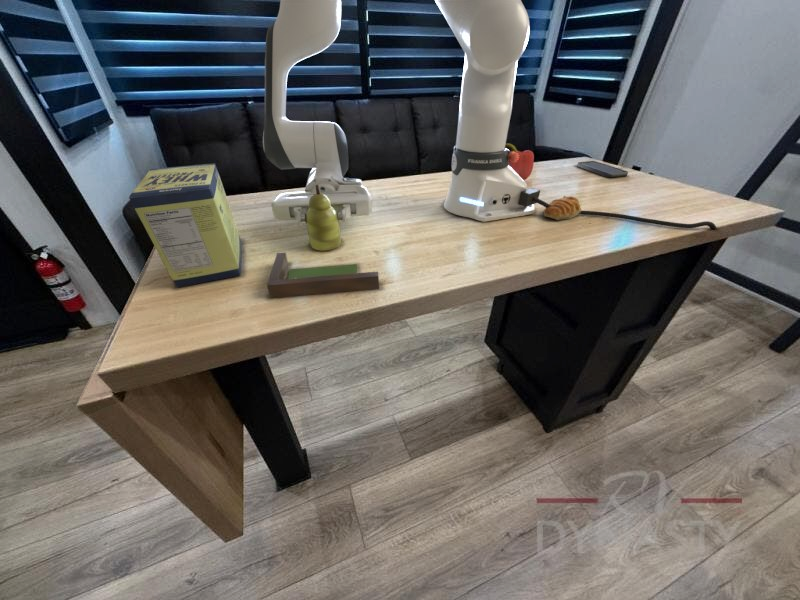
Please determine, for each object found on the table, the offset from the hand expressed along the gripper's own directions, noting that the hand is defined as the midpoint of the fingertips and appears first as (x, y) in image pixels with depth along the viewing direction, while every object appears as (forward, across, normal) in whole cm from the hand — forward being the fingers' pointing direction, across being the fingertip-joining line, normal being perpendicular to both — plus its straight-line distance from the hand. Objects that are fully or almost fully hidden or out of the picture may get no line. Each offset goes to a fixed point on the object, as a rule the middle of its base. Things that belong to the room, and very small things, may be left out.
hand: (322, 219), depth 62 cm
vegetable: (-36, +56, +6) cm, 67 cm away
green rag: (+12, 0, +6) cm, 13 cm away
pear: (-1, 0, +6) cm, 6 cm away
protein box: (+3, -21, +6) cm, 22 cm away
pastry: (-8, +56, +6) cm, 57 cm away
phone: (-41, +90, +6) cm, 99 cm away
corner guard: (+11, 0, +6) cm, 13 cm away
